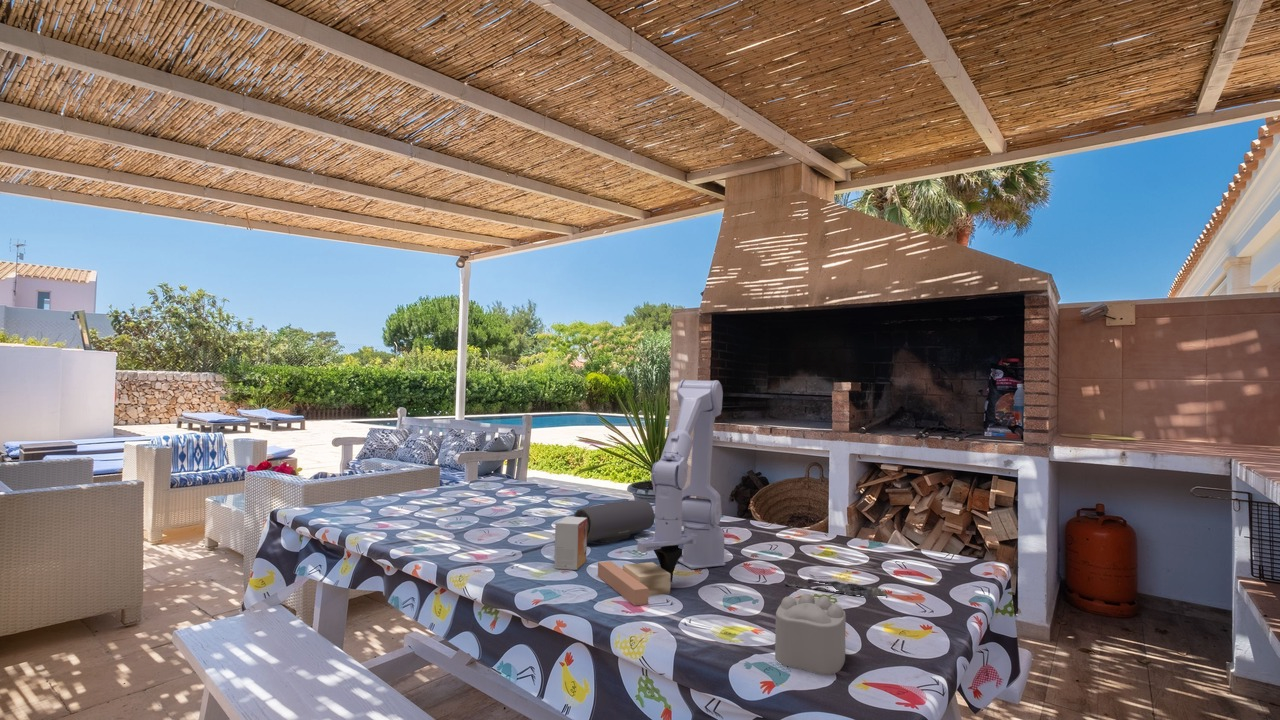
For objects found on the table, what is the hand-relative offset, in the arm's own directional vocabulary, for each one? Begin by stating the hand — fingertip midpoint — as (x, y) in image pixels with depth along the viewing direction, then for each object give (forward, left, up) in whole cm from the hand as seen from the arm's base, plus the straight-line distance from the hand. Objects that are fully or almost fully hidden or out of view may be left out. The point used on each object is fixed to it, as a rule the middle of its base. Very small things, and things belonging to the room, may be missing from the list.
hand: (667, 581), depth 134 cm
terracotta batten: (+10, -2, -1) cm, 10 cm away
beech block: (+5, -1, -1) cm, 5 cm away
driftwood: (-34, +13, -2) cm, 36 cm away
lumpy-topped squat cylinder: (-7, +38, -1) cm, 39 cm away
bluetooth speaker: (-5, -42, -1) cm, 42 cm away
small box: (+14, -22, -1) cm, 26 cm away
